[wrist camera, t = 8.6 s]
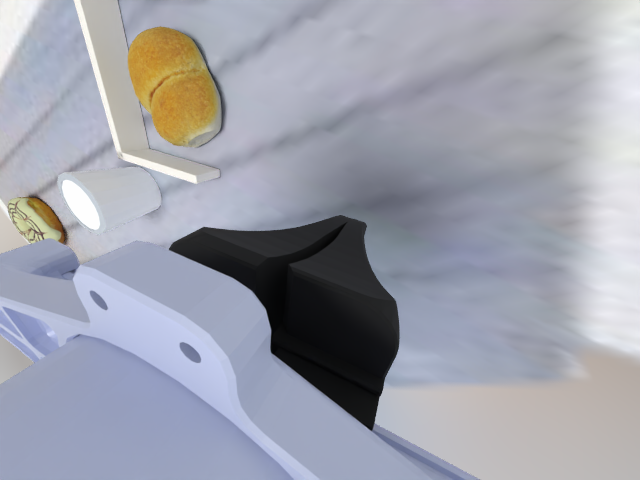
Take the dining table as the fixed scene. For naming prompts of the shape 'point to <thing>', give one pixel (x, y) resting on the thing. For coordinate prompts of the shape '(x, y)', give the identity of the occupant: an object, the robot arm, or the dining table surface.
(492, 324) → the dining table surface
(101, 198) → the white short cylinder
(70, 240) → the dining table surface
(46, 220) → the decorated donut
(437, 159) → the dining table surface
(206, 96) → the bread roll
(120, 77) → the tray
